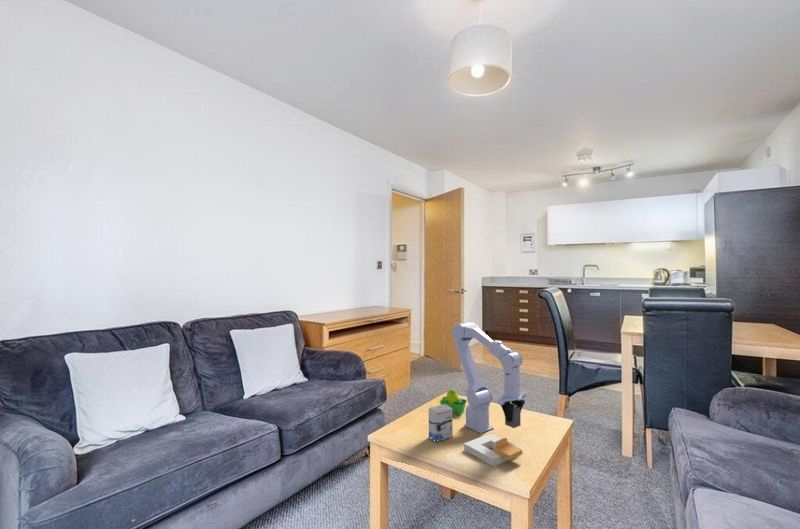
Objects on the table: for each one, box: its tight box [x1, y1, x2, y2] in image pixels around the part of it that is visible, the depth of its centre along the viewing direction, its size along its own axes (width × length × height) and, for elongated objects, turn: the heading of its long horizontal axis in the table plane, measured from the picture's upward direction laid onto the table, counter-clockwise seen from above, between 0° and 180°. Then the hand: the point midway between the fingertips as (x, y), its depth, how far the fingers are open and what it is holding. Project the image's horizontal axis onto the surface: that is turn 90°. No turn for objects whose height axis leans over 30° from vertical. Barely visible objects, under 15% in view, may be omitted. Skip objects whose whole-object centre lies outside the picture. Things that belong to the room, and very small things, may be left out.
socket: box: [463, 433, 521, 467], centre depth 134 cm, size 14×14×2 cm
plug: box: [504, 402, 521, 429], centre depth 143 cm, size 4×4×8 cm
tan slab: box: [493, 437, 523, 461], centre depth 128 cm, size 7×7×4 cm
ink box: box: [428, 404, 454, 442], centre depth 147 cm, size 8×5×12 cm, turn 117°
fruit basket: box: [439, 388, 468, 415], centre depth 173 cm, size 11×9×11 cm
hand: (512, 419), depth 143 cm, fingers closed on plug, 4 cm apart
